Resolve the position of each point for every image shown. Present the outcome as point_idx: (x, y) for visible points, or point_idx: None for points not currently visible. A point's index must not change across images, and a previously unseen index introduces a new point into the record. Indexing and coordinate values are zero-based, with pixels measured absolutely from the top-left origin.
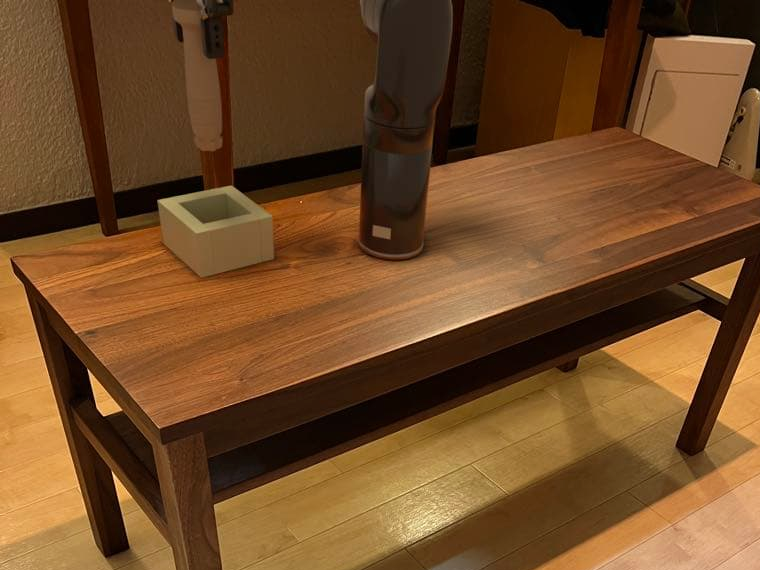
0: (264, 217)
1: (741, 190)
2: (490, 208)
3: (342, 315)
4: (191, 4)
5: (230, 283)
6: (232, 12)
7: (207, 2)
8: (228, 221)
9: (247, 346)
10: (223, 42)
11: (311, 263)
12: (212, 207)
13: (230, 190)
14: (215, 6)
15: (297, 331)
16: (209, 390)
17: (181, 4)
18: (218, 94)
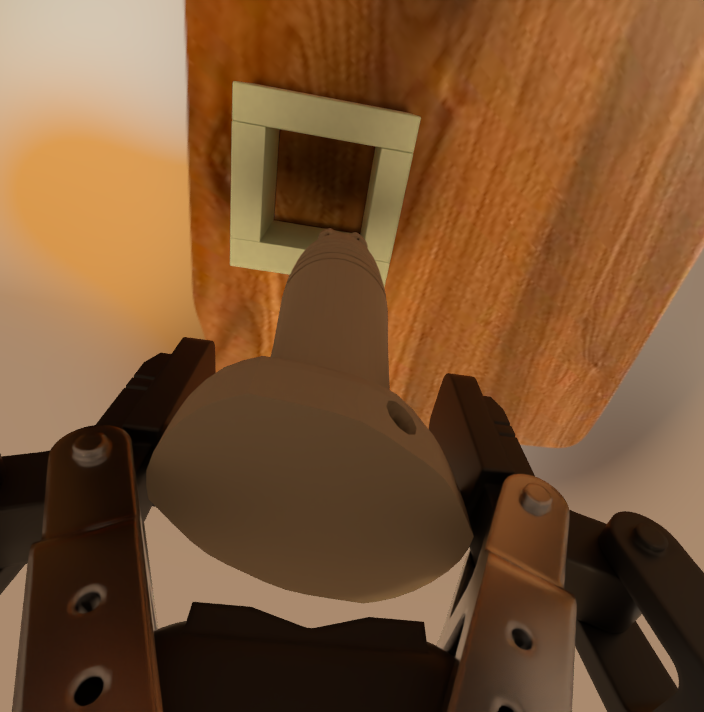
0: (415, 139)
1: None
2: None
3: (629, 157)
4: (319, 534)
5: (421, 236)
6: (664, 532)
7: (579, 643)
8: (382, 214)
9: (557, 320)
10: (485, 403)
11: (471, 56)
12: (267, 162)
13: (258, 106)
14: (636, 630)
15: (592, 248)
16: (577, 397)
17: (298, 562)
18: (382, 293)
